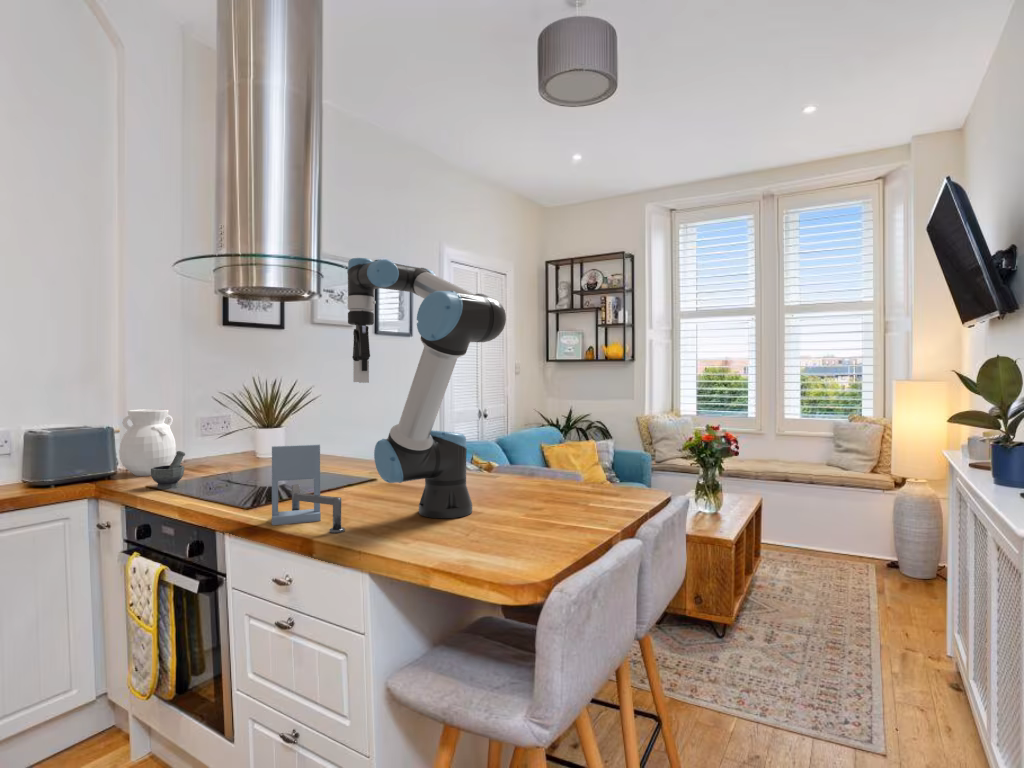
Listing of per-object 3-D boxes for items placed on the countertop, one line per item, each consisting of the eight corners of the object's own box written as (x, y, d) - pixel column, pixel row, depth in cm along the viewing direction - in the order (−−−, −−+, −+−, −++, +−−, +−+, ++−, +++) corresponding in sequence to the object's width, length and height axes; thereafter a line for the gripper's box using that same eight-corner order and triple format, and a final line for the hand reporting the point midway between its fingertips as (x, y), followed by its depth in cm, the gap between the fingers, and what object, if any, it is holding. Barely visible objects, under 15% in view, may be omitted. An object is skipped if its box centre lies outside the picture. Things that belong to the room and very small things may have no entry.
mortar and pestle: (164, 491, 188) (163, 455, 187) (144, 488, 191) (144, 453, 191) (194, 485, 198) (193, 450, 198) (175, 483, 201) (174, 449, 201)
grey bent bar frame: (347, 531, 140) (347, 497, 140) (318, 537, 135) (318, 502, 135) (299, 512, 159) (299, 482, 159) (272, 517, 154) (272, 486, 154)
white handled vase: (163, 468, 232) (163, 407, 232) (184, 473, 222) (184, 409, 221) (111, 474, 217) (110, 410, 217) (131, 480, 207) (131, 412, 206)
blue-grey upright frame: (320, 520, 150) (320, 446, 150) (271, 525, 146) (271, 448, 146) (319, 515, 156) (319, 443, 156) (272, 519, 151) (272, 445, 151)
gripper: (380, 307, 158) (380, 382, 159) (367, 315, 181) (367, 381, 182) (352, 306, 155) (352, 382, 156) (343, 314, 179) (343, 381, 179)
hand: (360, 382), depth 169 cm, fingers open, 13 cm apart
